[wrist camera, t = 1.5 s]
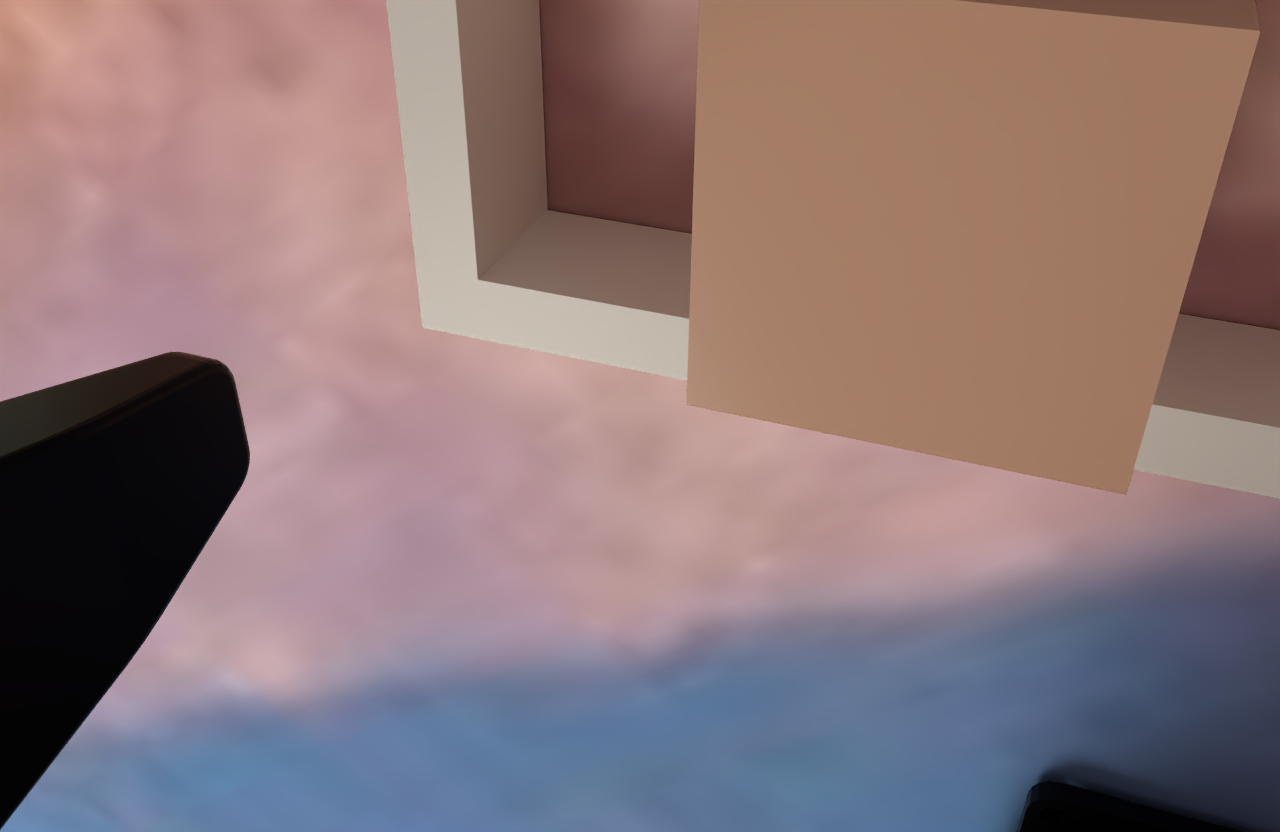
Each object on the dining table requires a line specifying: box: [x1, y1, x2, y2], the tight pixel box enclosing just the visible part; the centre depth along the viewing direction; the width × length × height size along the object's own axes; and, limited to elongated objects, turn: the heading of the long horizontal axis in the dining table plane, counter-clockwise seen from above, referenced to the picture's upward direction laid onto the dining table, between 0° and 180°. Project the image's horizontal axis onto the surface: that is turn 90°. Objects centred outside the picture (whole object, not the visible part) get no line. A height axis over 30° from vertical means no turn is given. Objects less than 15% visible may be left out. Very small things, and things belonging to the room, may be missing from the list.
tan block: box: [687, 0, 1261, 495], centre depth 14 cm, size 4×4×6 cm
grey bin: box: [386, 0, 1280, 499], centre depth 15 cm, size 15×8×2 cm, turn 90°
